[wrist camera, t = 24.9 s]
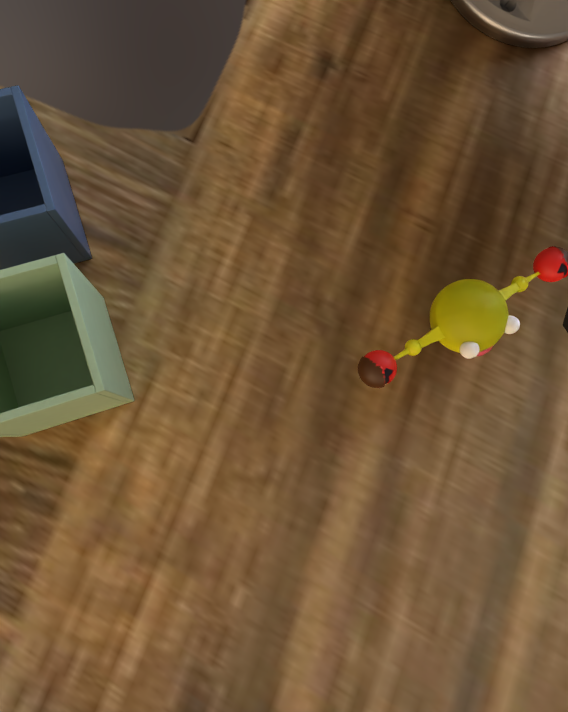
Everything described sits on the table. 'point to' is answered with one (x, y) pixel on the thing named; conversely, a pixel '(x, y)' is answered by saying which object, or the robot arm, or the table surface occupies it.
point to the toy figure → (466, 318)
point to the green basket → (55, 348)
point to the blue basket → (34, 190)
